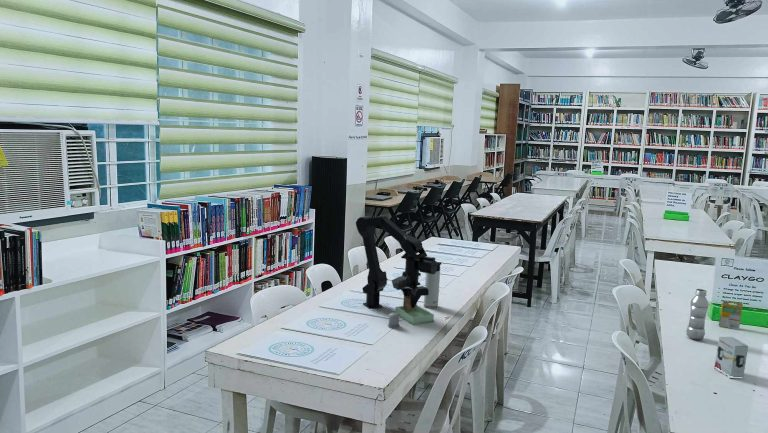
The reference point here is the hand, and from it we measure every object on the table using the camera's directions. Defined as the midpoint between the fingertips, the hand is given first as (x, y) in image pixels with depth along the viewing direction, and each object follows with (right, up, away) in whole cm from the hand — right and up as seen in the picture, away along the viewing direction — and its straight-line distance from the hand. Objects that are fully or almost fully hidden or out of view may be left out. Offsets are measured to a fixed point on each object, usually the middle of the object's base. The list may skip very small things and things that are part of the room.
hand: (409, 306), depth 241 cm
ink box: (+107, -16, -44) cm, 117 cm away
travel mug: (+10, -2, +13) cm, 17 cm away
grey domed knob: (-7, -6, -14) cm, 17 cm away
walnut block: (0, -1, 0) cm, 1 cm away
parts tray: (+2, -4, -2) cm, 5 cm away
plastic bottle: (+113, -11, -12) cm, 114 cm away
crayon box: (+136, -10, +4) cm, 136 cm away
